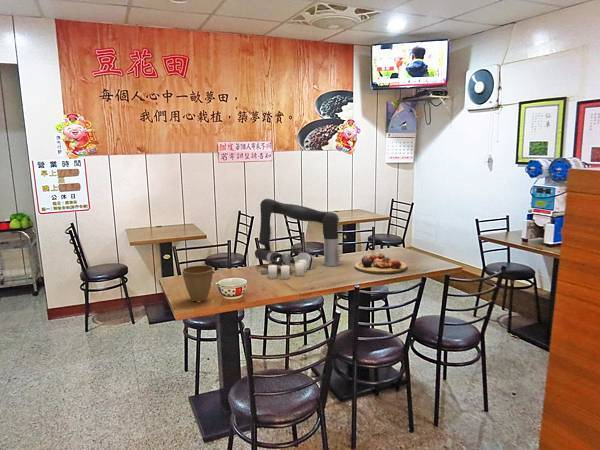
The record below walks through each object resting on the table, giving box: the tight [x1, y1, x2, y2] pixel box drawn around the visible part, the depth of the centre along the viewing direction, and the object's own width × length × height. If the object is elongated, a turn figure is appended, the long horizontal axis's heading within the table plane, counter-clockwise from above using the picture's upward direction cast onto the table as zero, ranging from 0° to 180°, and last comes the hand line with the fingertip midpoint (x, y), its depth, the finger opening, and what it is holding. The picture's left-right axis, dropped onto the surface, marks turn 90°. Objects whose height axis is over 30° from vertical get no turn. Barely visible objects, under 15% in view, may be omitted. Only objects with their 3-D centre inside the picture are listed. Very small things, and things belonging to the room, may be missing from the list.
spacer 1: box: [267, 264, 278, 280], centre depth 253 cm, size 5×5×7 cm
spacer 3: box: [294, 263, 305, 277], centre depth 257 cm, size 5×5×7 cm
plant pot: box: [181, 265, 214, 302], centre depth 216 cm, size 15×15×16 cm
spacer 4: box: [298, 260, 308, 274], centre depth 264 cm, size 5×5×7 cm
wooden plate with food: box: [354, 253, 408, 275], centre depth 269 cm, size 32×32×8 cm
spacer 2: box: [280, 264, 291, 280], centre depth 251 cm, size 5×5×7 cm
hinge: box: [293, 252, 315, 270], centre depth 276 cm, size 17×5×10 cm, turn 26°
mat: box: [260, 269, 269, 275], centre depth 265 cm, size 8×8×1 cm
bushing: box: [282, 253, 292, 276], centre depth 259 cm, size 5×5×12 cm
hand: (288, 263), depth 258 cm, fingers open, 8 cm apart
